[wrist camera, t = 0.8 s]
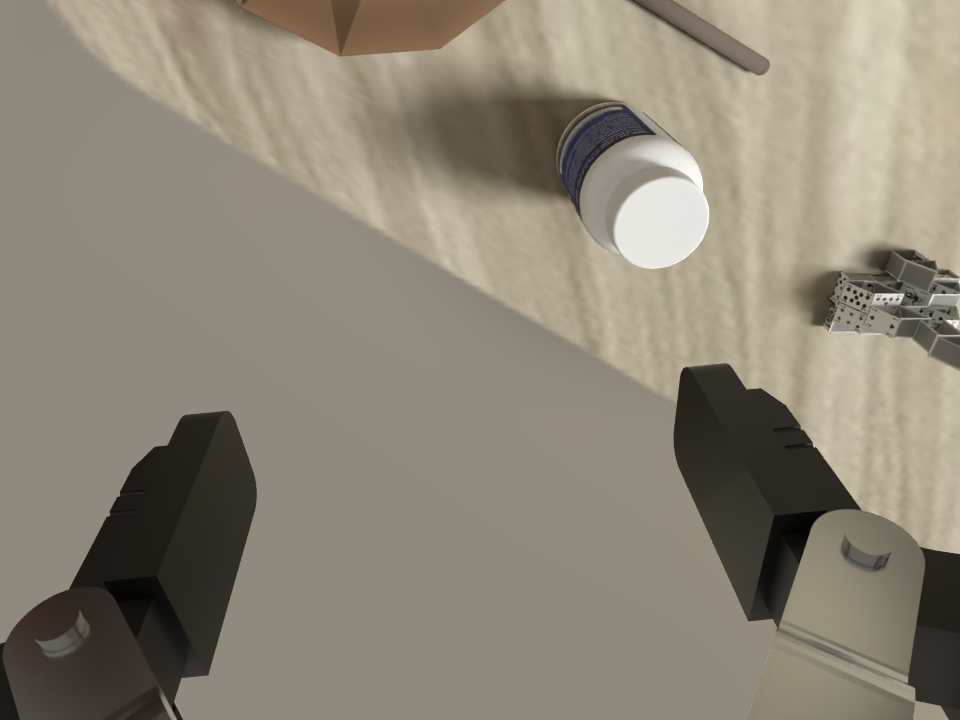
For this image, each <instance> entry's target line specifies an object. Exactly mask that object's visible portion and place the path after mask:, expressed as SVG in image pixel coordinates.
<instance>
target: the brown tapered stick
mask: <svg viewBox="0 0 960 720" xmlns="http://www.w3.org/2000/svg"><path fill="white" fill-rule="evenodd" d="M634 1H636V2H638V3H639V4H641V5H642V6H644V7H646V8H647V9H649V10H651V11H652V12H654V13H656V14H657V15H659V16H661V17H662V18H664V19H666V20H667V21H669V22H670V23H672V24H674V25H675V26H677V27H679V28H680V29H682V30H684V31H685V32H687V33H689V34H690V35H692V36H693V37H695V38H697V39H698V40H700V41H702V42H703V43H705V44H707V45H708V46H710V47H712V48H713V49H715V50H717V51H718V52H720V53H721V54H723V55H725V56H726V57H728V58H730V59H731V60H733V61H735V62H736V63H738V64H740V65H741V66H743V67H744V68H746V69H748V70H749V71H751V72H753V73H754V74H756V75H763V74H765V73H766V72H767V71H768V70H769V67H770V63H769V61H768V60H767V59H766V58H765V57H763V56H761V55H760V54H758V53H756V52H755V51H753V50H752V49H750V48H748V47H747V46H745V45H744V44H742V43H740V42H739V41H737V40H736V39H734V38H732V37H731V36H729V35H727V34H726V33H724V32H723V31H721V30H719V29H718V28H716V27H715V26H713V25H711V24H710V23H708V22H707V21H705V20H703V19H702V18H700V17H698V16H697V15H695V14H694V13H692V12H690V11H689V10H687V9H686V8H684V7H682V6H681V5H679V4H678V3H676V2H674V1H673V0H634Z"/></svg>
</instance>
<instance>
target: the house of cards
mask: <svg viewBox="0 0 960 720" xmlns="http://www.w3.org/2000/svg"><path fill="white" fill-rule="evenodd" d="M885 271H886V272H887V273H889V274H890V275H891V276H870V275H869V274H844V273H843V272H842V271H841V273H840V276H839V279H838V282H837V284H836V287H835V290H834V292H833V295H832V297H829V298H830V299H831V300H832V301H828V302H829V303H830V304H831V305H830V308H829V311H828V314H827V316H826V319H825V322H824V324H823V327H824V328H825V329H826V330H827V331H828V332H829V333H830V334H831V332H857V333H859V334H884V335H886V336H888V337H890V338H892V339H893V338H912V339H913V340H914V341H915V342H916V343H917V344H919V345H920V346H921V347H922V348H923V349H924V350H925V351H927V352H928V357H930V358H933V359H935V360H937V361H939V362H941V363H943V364H946V365H948V366H950V367H952V368H954V369H956V370H959V371H960V331H959V330H958V329H956V327H957V325H958V323H959V321H960V319H959V315H958V311H957V307H956V305H957V303H958V301H959V299H960V286H959V283H960V279H959V278H960V277H959V276H958V275H956V274H955V273H953V272H952V271H950V270H949V272H948V274H937V273H938V270H937V265H936V261H930V260H929V259H928V258H926V257H925V256H923V255H922V254H920V253H919V252H917V251H916V250H915V252H914V254H913V256H912V259H911V261H909V260H905V259H904V258H902V257H901V256H900V255H898V254H897V253H895V252H894V251H893V250H892V253H891V255H890V258H889V260H888V263H887V265H886V268H885Z"/></svg>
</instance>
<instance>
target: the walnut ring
mask: <svg viewBox="0 0 960 720" xmlns="http://www.w3.org/2000/svg"><path fill="white" fill-rule="evenodd" d="M236 1H237V3H238V4H239V5H240V7H242V8H244V9H246V10H248V11H250V12H252V13H254V14H256V15H258V16H260V17H262V18H264V19H266V20H268V21H270V22H272V23H274V24H276V25H278V26H280V27H282V28H284V29H286V30H288V31H290V32H292V33H294V34H296V35H298V36H300V37H302V38H304V39H306V40H308V41H310V42H312V43H314V44H316V45H318V46H320V47H322V48H324V49H326V50H328V51H330V52H332V53H334V54H336V55H338V56H353V55H366V54H380V53H393V52H407V51H420V50H433V49H440V48H442V47H443V46H444V45H446V44H447V43H448V42H450V41H451V40H452V39H454V38H455V37H457V36H458V35H459V34H461V33H462V32H463V31H465V30H466V29H467V28H469V27H470V26H471V25H473V24H474V23H475V22H477V21H478V20H479V19H481V18H482V17H483V16H485V15H486V14H488V13H489V12H490V11H492V10H493V9H494V8H496V7H497V6H498V5H500V4H501V3H502V2H504V1H505V0H236Z"/></svg>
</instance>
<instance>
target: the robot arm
mask: <svg viewBox="0 0 960 720" xmlns="http://www.w3.org/2000/svg"><path fill="white" fill-rule="evenodd" d="M674 450H675V456H676V460H677V463H678V467H679V469H680V471H681V474H682V476H683V478H684V480H685V482H686V485H687V487H688V489H689V491H690V493H691V496H692V498H693V500H694V502H695V505H696V507H697V509H698V511H699V513H700V516H701V518H702V520H703V522H704V524H705V527H706V529H707V531H708V533H709V535H710V537H711V540H712V542H713V544H714V546H715V549H716V551H717V553H718V555H719V557H720V560H721V562H722V564H723V566H724V568H725V571H726V573H727V575H728V577H729V579H730V582H731V584H732V586H733V588H734V590H735V593H736V595H737V597H738V599H739V601H740V604H741V606H742V608H743V610H744V613H745V615H746V617H747V619H748V621H756V620H765V619H773V620H774V622H775V624H776V626H777V630H776V633H775V636H774V639H773V642H772V645H771V648H770V651H769V654H768V657H767V660H766V663H765V666H764V669H763V672H762V675H761V678H760V681H759V684H758V687H757V690H756V693H755V696H754V699H753V702H752V705H751V708H750V711H749V714H748V717H747V720H913V714H914V706H915V701H920V702H925V703H930V704H935V705H940V706H941V707H942V709H943V710H944V712H945V714H946V716H947V717H948V719H949V720H960V554H955V553H949V552H942V551H936V550H931V549H926V548H922V547H920V546H919V545H918V544H917V542H916V541H915V540H914V539H913V538H912V536H911V535H910V534H909V533H907V532H906V531H905V530H904V529H902V528H901V527H900V526H898V525H897V524H895V523H893V522H892V521H890V520H888V519H886V518H884V517H881V516H879V515H876V514H873V513H869V512H866V511H862V510H861V509H860V507H859V506H858V505H857V503H856V502H855V500H854V499H853V498H852V496H851V495H850V493H849V492H848V491H847V489H846V488H845V487H844V485H843V484H842V482H841V481H840V480H839V478H838V477H837V476H836V474H835V473H834V471H833V470H832V469H831V467H830V466H829V465H828V463H827V462H826V460H825V459H824V458H823V456H822V455H821V453H820V452H819V451H818V449H817V448H816V447H815V448H814V447H813V442H812V441H811V440H810V438H809V437H808V436H807V434H806V433H805V431H804V430H801V428H800V425H799V423H798V422H797V420H796V419H795V418H794V416H793V415H792V413H791V412H790V411H789V409H788V408H787V407H786V405H784V404H783V403H782V402H780V401H779V400H777V399H776V398H774V397H773V396H771V395H770V394H768V393H767V392H765V391H764V390H762V389H761V388H759V389H749V390H746V388H745V387H744V385H743V384H742V382H741V381H740V379H739V378H738V376H737V375H736V373H735V372H734V370H733V369H732V367H731V366H730V365H729V364H727V363H724V364H714V365H703V366H693V367H685V368H683V370H682V372H681V375H680V382H679V391H678V400H677V409H676V418H675V426H674ZM256 491H257V489H256V481H255V476H254V473H253V470H252V467H251V464H250V461H249V458H248V455H247V453H246V450H245V447H244V444H243V441H242V438H241V436H240V433H239V430H238V427H237V424H236V421H235V419H234V417H233V415H232V414H231V413H230V412H229V411H222V412H212V413H202V414H191V415H185V416H183V417H182V418H181V419H180V421H179V423H178V425H177V427H176V429H175V431H174V433H173V435H172V438H171V439H170V442H169V444H168V446H158V447H154V448H153V449H152V450H151V451H150V452H149V453H148V454H147V455H146V456H145V457H144V458H143V459H142V460H141V461H140V462H138V463H137V464H136V465H135V466H134V467H133V468H132V470H131V472H130V474H129V476H128V477H127V479H126V481H125V483H124V485H123V487H122V489H121V491H120V497H117V498H116V501H115V502H114V504H113V506H112V508H111V510H110V516H109V517H107V518H106V520H105V521H104V523H103V525H102V527H101V529H100V531H99V533H98V535H97V537H96V539H95V541H94V543H93V544H92V546H91V548H90V550H89V552H88V554H87V556H86V558H85V560H84V562H83V563H82V565H81V567H80V569H79V571H78V573H77V575H76V577H75V579H74V581H73V583H72V584H71V586H70V588H69V590H66V591H63V592H61V593H58V594H56V595H54V596H52V597H50V598H48V599H46V600H45V601H43V602H41V603H40V604H38V605H37V606H36V607H34V608H33V609H32V610H30V611H29V612H28V613H27V614H26V615H25V616H24V617H23V618H22V619H21V620H20V621H19V622H18V623H17V624H16V626H15V627H14V628H13V630H12V631H11V633H10V634H9V636H8V638H7V640H6V642H4V643H1V644H0V720H185V719H184V717H183V715H182V713H181V711H180V710H179V707H178V706H177V704H176V702H175V701H174V700H175V697H176V693H177V690H178V687H179V684H180V681H181V678H187V677H196V676H206V675H208V674H209V671H210V667H211V664H212V660H213V656H214V653H215V649H216V646H217V642H218V638H219V635H220V632H221V628H222V625H223V621H224V618H225V614H226V610H227V607H228V604H229V600H230V596H231V593H232V589H233V586H234V582H235V579H236V575H237V572H238V568H239V565H240V561H241V557H242V554H243V551H244V547H245V543H246V540H247V536H248V533H249V529H250V526H251V522H252V519H253V515H254V512H255V507H256V499H257V492H256Z"/></svg>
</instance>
